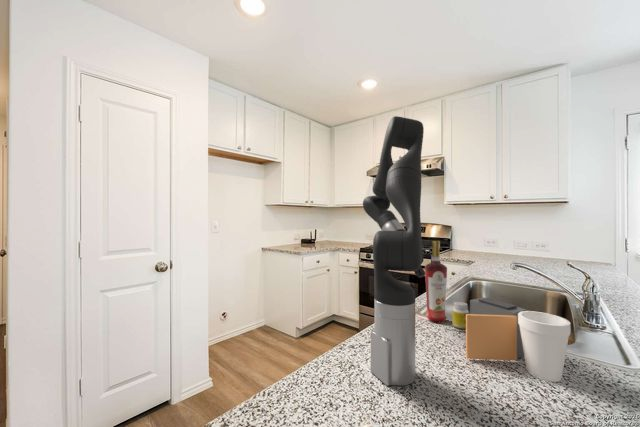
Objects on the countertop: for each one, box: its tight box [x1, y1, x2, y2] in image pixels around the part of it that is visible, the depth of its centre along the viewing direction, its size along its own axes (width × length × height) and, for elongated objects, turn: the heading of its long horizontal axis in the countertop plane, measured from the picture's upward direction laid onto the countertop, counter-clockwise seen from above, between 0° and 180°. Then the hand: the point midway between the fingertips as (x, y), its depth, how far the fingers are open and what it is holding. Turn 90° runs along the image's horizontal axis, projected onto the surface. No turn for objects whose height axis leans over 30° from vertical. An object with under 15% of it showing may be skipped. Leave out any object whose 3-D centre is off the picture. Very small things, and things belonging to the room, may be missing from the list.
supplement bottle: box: [452, 301, 470, 333], centre depth 89 cm, size 5×5×8 cm
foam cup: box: [518, 310, 571, 383], centre depth 64 cm, size 10×9×13 cm
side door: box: [465, 313, 518, 362], centre depth 69 cm, size 1×12×11 cm, turn 86°
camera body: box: [469, 297, 528, 360], centre depth 77 cm, size 6×12×13 cm, turn 25°
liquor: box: [424, 240, 448, 323], centre depth 97 cm, size 7×7×28 cm
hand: (422, 276), depth 87 cm, fingers closed
